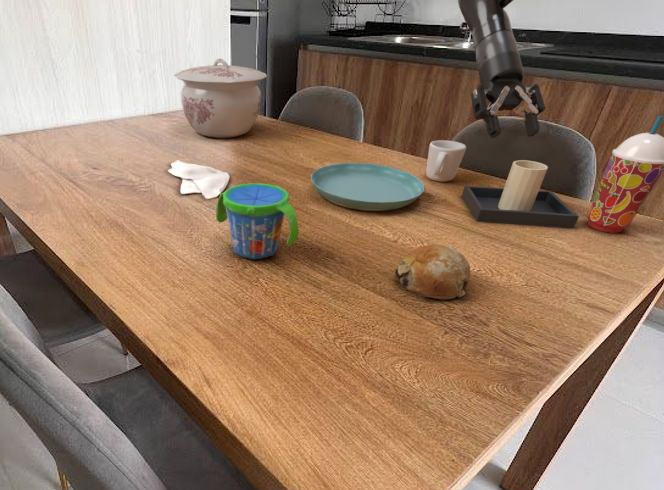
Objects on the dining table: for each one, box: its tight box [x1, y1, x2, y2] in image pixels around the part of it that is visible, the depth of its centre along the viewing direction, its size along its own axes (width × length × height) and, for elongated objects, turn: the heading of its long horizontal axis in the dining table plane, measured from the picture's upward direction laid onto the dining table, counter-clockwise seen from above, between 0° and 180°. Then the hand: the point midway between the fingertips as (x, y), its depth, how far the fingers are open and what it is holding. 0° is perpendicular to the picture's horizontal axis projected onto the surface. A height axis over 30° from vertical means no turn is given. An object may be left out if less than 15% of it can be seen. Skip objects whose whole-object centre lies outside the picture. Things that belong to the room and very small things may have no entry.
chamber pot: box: [173, 58, 268, 139], centre depth 137 cm, size 28×28×21 cm
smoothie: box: [586, 115, 664, 234], centre depth 81 cm, size 8×8×20 cm
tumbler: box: [498, 159, 549, 211], centre depth 90 cm, size 6×6×9 cm
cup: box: [425, 139, 467, 183], centre depth 105 cm, size 11×8×8 cm
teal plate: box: [310, 162, 425, 212], centre depth 99 cm, size 24×24×3 cm
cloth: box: [167, 159, 230, 200], centre depth 106 cm, size 26×14×2 cm, turn 17°
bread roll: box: [394, 244, 471, 301], centre depth 67 cm, size 10×10×8 cm
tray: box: [461, 185, 580, 229], centre depth 92 cm, size 18×14×2 cm
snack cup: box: [215, 182, 299, 261], centre depth 74 cm, size 16×10×10 cm
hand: (515, 135), depth 90 cm, fingers open, 8 cm apart
